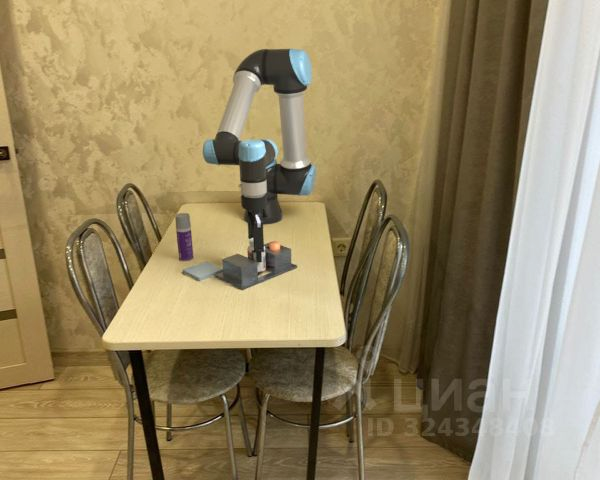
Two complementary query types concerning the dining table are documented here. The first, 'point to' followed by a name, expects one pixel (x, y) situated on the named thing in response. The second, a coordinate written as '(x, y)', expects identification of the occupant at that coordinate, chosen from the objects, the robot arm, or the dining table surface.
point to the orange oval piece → (274, 245)
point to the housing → (255, 267)
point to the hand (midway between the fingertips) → (257, 266)
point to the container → (184, 237)
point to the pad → (202, 270)
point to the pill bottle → (251, 255)
